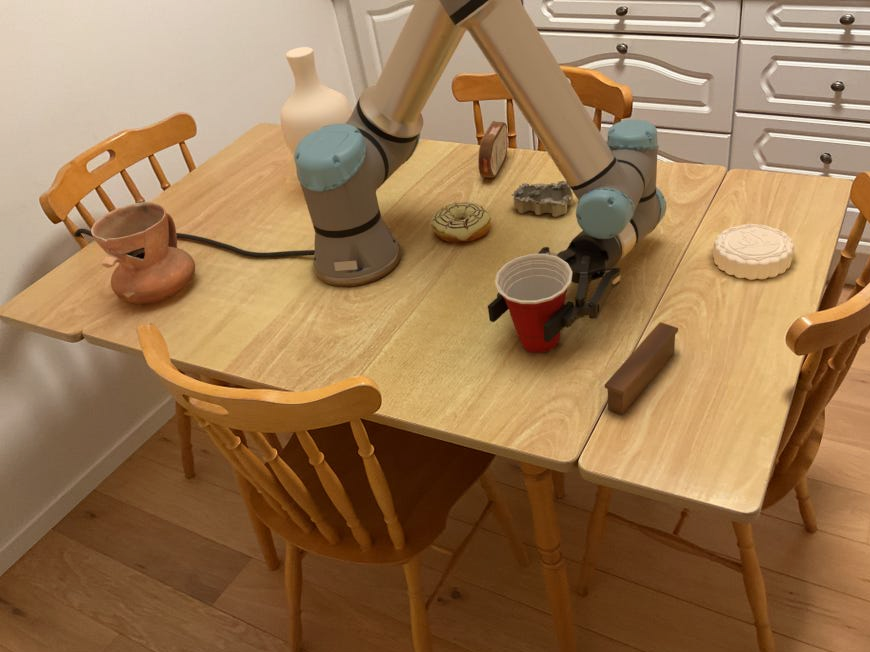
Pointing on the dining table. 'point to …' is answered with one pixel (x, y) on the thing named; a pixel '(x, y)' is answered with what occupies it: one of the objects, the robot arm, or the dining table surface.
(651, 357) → the walnut rail
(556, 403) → the dining table surface
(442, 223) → the decorated donut
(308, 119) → the vase
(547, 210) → the egg carton
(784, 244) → the mooncake
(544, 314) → the plastic cup
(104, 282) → the dining table surface
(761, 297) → the dining table surface
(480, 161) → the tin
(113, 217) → the ceramic jug
